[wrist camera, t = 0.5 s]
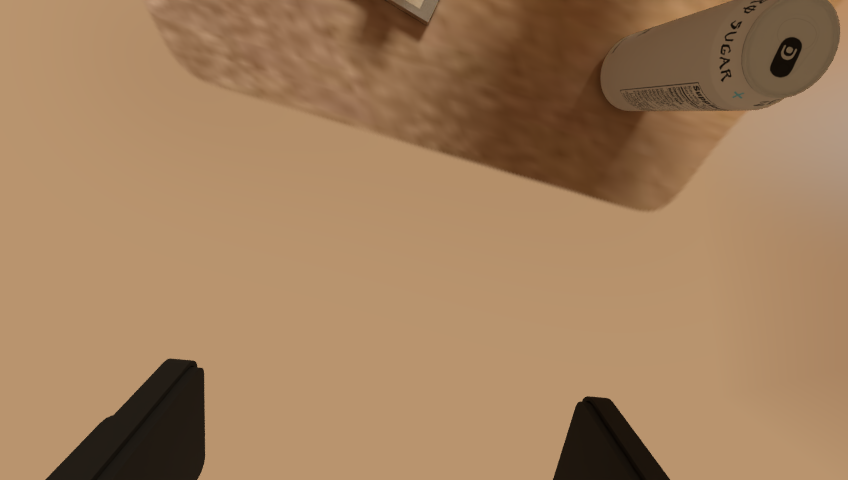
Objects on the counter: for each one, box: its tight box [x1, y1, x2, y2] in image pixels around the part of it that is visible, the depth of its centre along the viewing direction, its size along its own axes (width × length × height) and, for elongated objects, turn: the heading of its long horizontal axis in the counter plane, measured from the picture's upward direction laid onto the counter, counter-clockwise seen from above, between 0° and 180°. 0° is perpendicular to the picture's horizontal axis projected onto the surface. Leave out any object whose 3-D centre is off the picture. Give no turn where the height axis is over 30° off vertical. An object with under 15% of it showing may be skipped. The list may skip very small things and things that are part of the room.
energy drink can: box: [600, 0, 840, 111], centre depth 27 cm, size 6×6×15 cm
